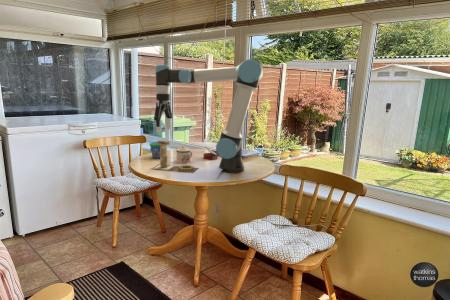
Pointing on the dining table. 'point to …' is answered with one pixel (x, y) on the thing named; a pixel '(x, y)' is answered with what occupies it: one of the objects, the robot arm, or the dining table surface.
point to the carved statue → (163, 153)
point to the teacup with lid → (183, 155)
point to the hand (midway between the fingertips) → (163, 130)
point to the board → (177, 168)
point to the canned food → (210, 155)
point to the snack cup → (155, 149)
